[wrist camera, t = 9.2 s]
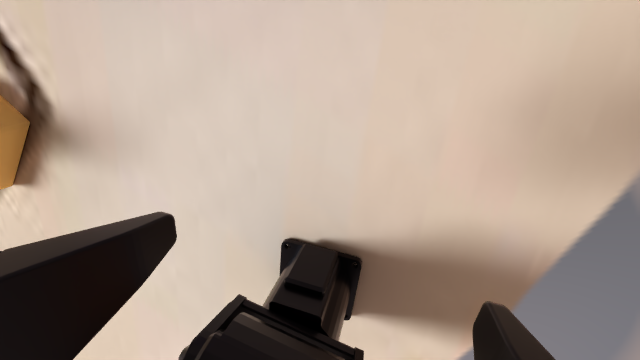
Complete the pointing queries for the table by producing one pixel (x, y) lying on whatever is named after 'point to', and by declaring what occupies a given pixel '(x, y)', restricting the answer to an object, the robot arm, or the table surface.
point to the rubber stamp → (10, 141)
